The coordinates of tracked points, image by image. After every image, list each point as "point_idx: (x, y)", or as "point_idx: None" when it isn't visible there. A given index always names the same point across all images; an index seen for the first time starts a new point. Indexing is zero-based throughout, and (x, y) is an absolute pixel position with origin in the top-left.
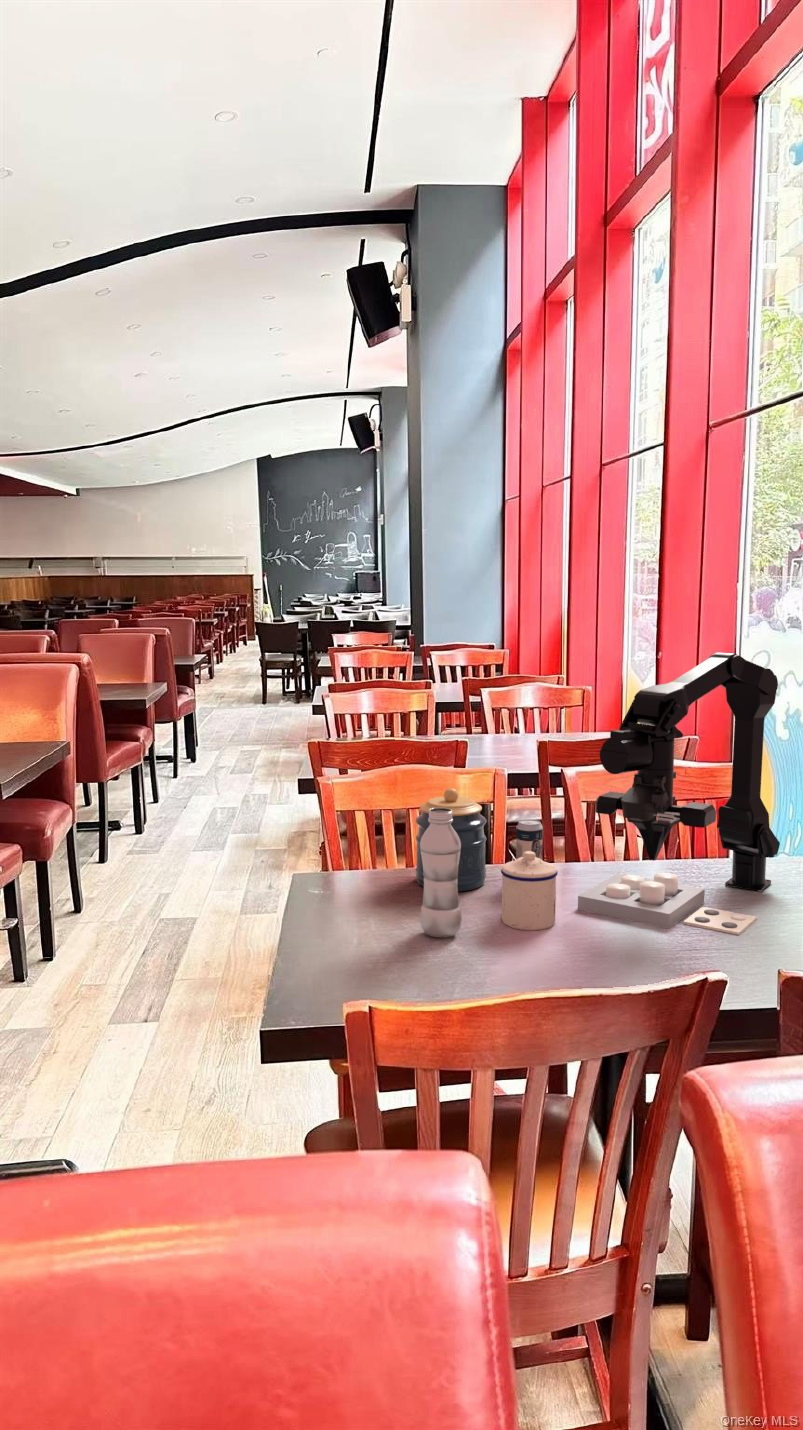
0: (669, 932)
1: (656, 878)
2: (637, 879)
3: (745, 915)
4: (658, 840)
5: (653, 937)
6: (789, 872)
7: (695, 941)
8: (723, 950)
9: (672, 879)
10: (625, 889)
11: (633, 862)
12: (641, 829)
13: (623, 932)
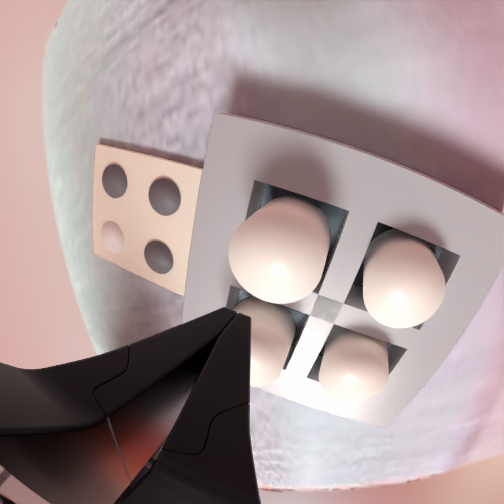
0: (228, 86)
1: (271, 343)
2: (339, 373)
3: (108, 257)
4: (112, 354)
5: (262, 31)
6: None
7: (164, 56)
8: (115, 41)
9: None
10: (380, 270)
11: (342, 485)
12: (217, 488)
13: (352, 38)
